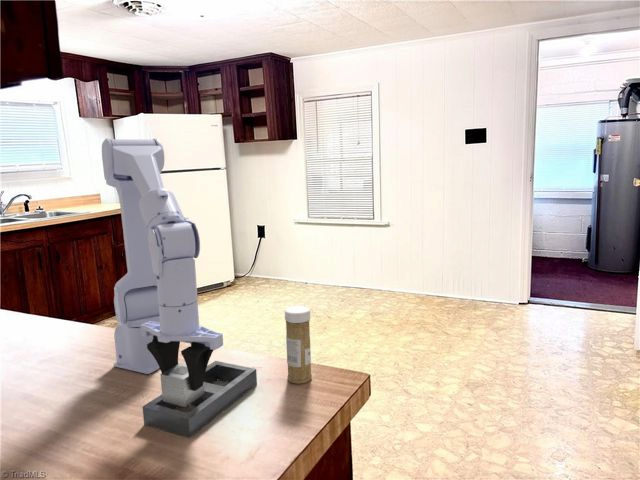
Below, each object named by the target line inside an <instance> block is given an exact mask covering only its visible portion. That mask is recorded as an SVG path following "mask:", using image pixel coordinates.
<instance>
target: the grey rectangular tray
mask: <svg viewBox="0 0 640 480" xmlns="http://www.w3.org/2000/svg"><path fill="white" fill-rule="evenodd" d="M257 377H258V376H257V369H256V368H253V367H248V366H243V365H237V364H233V363H228V362H223V361H219V360H214V361H213V362H211V363H209V364H208V365H207V368H206V372H205V377H204V391H205V394H204V395H202V396H201V397H199V398H198V399H197V400H195V401H194V402H192V403H191V404H190V405H191V406H195V407H194V408H193V409H191V410H190V411H189V412H184V411H180V410H178V409H177V408H179V407H180V406H178V405H175V404H171V403H167V402H163V399H162V394H160V395H159V396H157V397H155V398H154V399H153V400H151V401H149V402H147V403H146V404H144V405H142V416H143V425H144V426H148V427H152V428H155V429H158V430H161V431H165V432H169V433H173V434H175V435H178V436H182V437H186V438H189V439H191V438H192V437H194V436H195V435H196V434H197V433H198V432H199V431H201V430H202V429H203V428H204V427H206V426H207V425H209V423H211V422H212V421H213V420H215V419H216V418H217V417H218V416H220V415H221V414H222V413H223V412H225V411H226V410H227V409H228V408H231V406H232V405H233V404H235V403H236V402H238V400H240V399H241V398H242V397H243V396H245V395H247V393H249V392H250V391H251V390H252V389H254V388H255V387H256V386H257V385H258V378H257ZM217 381H222V382H226V383H228V384H226V385H225V386H222V385H217V384H214V383H215V382H217ZM176 409H177V410H176Z"/></svg>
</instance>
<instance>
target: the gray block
mask: <svg viewBox="0 0 640 480" xmlns="http://www.w3.org/2000/svg"><path fill="white" fill-rule="evenodd" d="M160 385H161V395H162V399H163V402H167V403H171V404H175V405H178V406H179V407H183V408H187V407H189V406H190V405H192V404H191V403H192V402H194V401H195V400H197V399H198V398H199V397H201V396H202V395H204V394H205V391H204V383H203V386H202V387H200V388H199V389H197V390H196V391H192V390H191V387H190V383H189V374H188V369H187V365H186V362H185V363H184V362H178V364H177V365H175V366H174V367H172V368H170V369H169V370H167V371H165V372H163V373H162V372H161V373H160Z"/></svg>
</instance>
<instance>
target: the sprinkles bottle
mask: <svg viewBox="0 0 640 480" xmlns="http://www.w3.org/2000/svg"><path fill="white" fill-rule="evenodd" d="M284 320H285V329H286V332H285V333H286V335H285V339H286V340H285V341H286V342H285V343H286V345H285V346H286V363H287V381H288V382H290V383H293V384H298V385H300V384H306V383H307V382H310V381H311V380H312V377H313V376H312V367H311V363H312V360H311V359H312V354H311V336H310V335H311V333H310V321H311V309H310V307H307V306H303V305H294V306H289V307H286V309H284Z"/></svg>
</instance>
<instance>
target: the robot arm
mask: <svg viewBox="0 0 640 480" xmlns="http://www.w3.org/2000/svg"><path fill="white" fill-rule="evenodd" d="M101 160H102V167H103V175H104V176H103V177H104V180H105V182H106V185H107V186H110V187H112V188H115V190H116V193H117V195H118V199H119V204H120V205H119V206H120V215H121V224H122V225H121V226H122V230H123V231H122V233H123V241H124V250H125V260H126V268H127V273H125V275H123V276H122V277H121V278H120V279H119V280H118V281H116V283H115V285H114V287H113V290H114V291H113V292H114V297H113V304H114V305H113V306H114V312H115V313H114V314H115V317H116V320H117V321H118V323H117V325H116V327H115V328H114V346H115V358H116V362H114V363H113V367H117V368H120V369H124V370H129V371H132V372H137V373H141V374H145V375H150V374H151V373H153V372H155V371H157V370H159V369H160V372H161V374H162V373H163V372H165V371H167V370H169V369H170V368H172V367H174V366H175V365H177V364H179V353H180V354H181V356H182V358H183V360H184V362H185V364H186V365H187V369H188V374H189V383H190V387H191V390H192V391H196V390H197V389H199V388H200V387H202V386H203V383H204V377H205V372H206V368H207V366H208V365H209V361H210V358H211V356H212V354H213V353H214V351H216V350H218V349H220V348H221V347H223V346H224V335H223V332H219V331H214V330H212V329H210V328H208V327H206V326H203V325H200V320H199V319H200V318H199V317H200V316H199V302H198V301H199V300H198V288H197V274H196V273H197V272H196V260H195V259H197V258H198V257H199V255H200V251H201V239H200V234H199V231H198V227H197V225H196V223H195V222H194V221H193V220H191V219H190V218H189V217H185V216H184V213H183V212H182V210H181V208H180V204H179V203H178V201H177V199H176V197H175V195H174V193H173V192H172V191H170V190H169V189H166V188H165V187H164V184H163V180H162V177H161V173H162V171H163V170H164V167H165V150H164V147H163V144H162V142H161V141H160V140H159V139H158V138H153V139H151V138H150V139H141V138H139V139H137V138H135V139H124V138H122V139H121V138H120V139H119V138H118V139H111V138H105V139H104V140H103V141H102V143H101ZM180 343H187V344H190V346H188V347H185V348H184V349H182V350H181V351H180ZM179 351H180V352H179Z"/></svg>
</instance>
